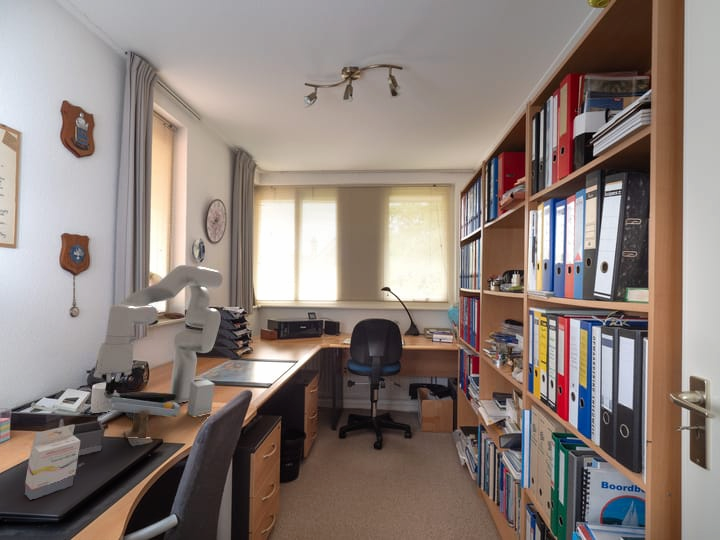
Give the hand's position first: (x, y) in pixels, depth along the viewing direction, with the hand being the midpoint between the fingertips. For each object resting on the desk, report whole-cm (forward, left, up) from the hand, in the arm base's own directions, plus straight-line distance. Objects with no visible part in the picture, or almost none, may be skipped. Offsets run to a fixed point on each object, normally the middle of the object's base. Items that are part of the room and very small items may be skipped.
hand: (110, 392), depth 116 cm
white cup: (-2, -21, -14) cm, 25 cm away
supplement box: (-32, -1, -14) cm, 35 cm away
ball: (-16, +10, -5) cm, 19 cm away
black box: (-15, -14, -14) cm, 24 cm away
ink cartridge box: (+15, +29, -14) cm, 35 cm away
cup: (+8, +10, -14) cm, 19 cm away
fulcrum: (-8, +10, -14) cm, 19 cm away
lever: (-8, +6, -5) cm, 11 cm away
